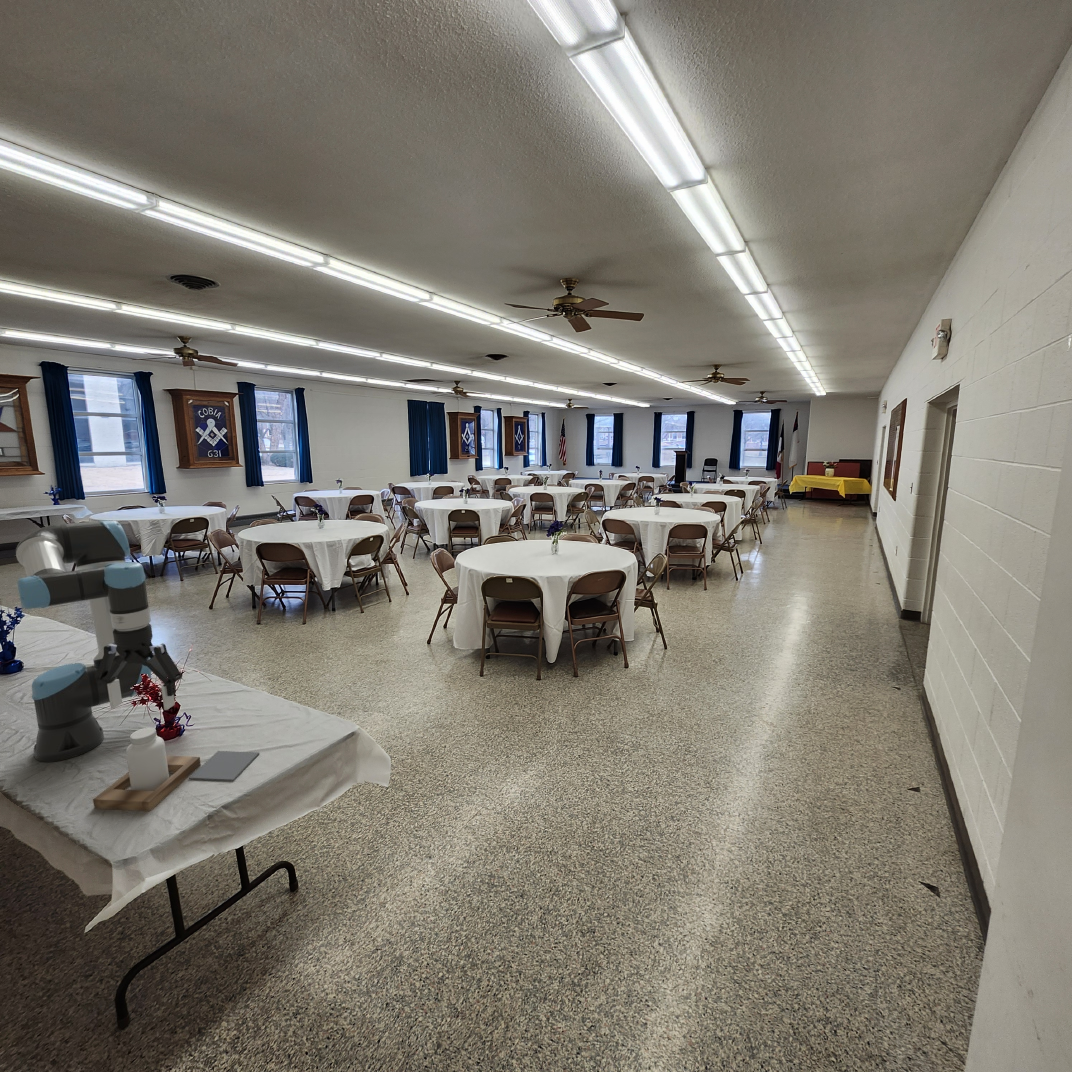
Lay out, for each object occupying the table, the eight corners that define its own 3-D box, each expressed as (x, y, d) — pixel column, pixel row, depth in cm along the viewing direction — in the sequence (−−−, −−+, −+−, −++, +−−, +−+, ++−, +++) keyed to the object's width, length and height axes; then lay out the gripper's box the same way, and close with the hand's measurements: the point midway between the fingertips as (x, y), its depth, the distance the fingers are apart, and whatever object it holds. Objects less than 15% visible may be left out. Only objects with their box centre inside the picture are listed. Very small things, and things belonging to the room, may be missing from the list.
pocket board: (94, 808, 127) (92, 799, 127) (151, 763, 145) (150, 754, 145) (150, 810, 127) (148, 801, 126) (200, 765, 144) (199, 756, 144)
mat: (188, 779, 139) (188, 777, 138) (218, 752, 150) (218, 750, 150) (233, 781, 138) (233, 779, 138) (259, 754, 150) (259, 752, 150)
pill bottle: (125, 798, 131) (117, 743, 128) (139, 778, 139) (132, 726, 136) (162, 792, 133) (155, 738, 131) (174, 773, 141) (167, 722, 138)
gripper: (68, 630, 125) (81, 712, 129) (171, 632, 125) (181, 715, 129) (95, 619, 133) (107, 697, 137) (192, 621, 132) (201, 700, 136)
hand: (143, 706), depth 133 cm, fingers open, 13 cm apart
